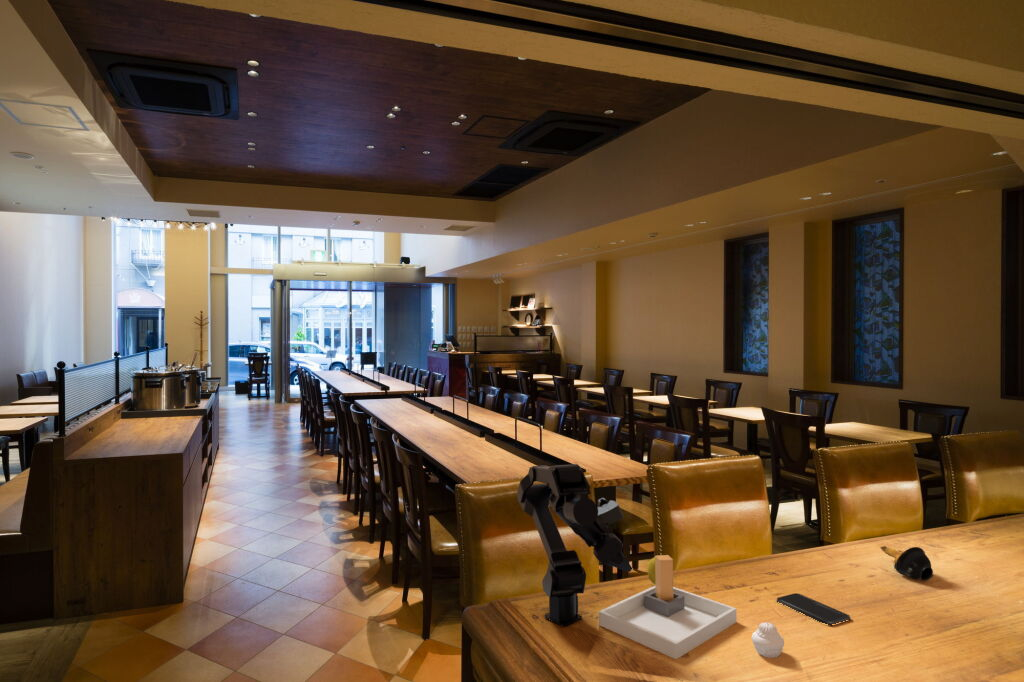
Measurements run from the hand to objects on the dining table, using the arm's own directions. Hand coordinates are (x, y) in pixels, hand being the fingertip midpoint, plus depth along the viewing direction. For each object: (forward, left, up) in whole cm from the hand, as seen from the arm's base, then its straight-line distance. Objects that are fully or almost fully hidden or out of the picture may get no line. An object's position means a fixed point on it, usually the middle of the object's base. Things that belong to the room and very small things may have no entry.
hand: (624, 562), depth 138 cm
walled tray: (+5, -8, -14) cm, 17 cm away
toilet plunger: (+82, -33, -14) cm, 89 cm away
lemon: (+23, +7, -14) cm, 28 cm away
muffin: (+9, -29, -14) cm, 33 cm away
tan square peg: (+11, -3, -13) cm, 17 cm away
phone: (+38, -26, -14) cm, 48 cm away
